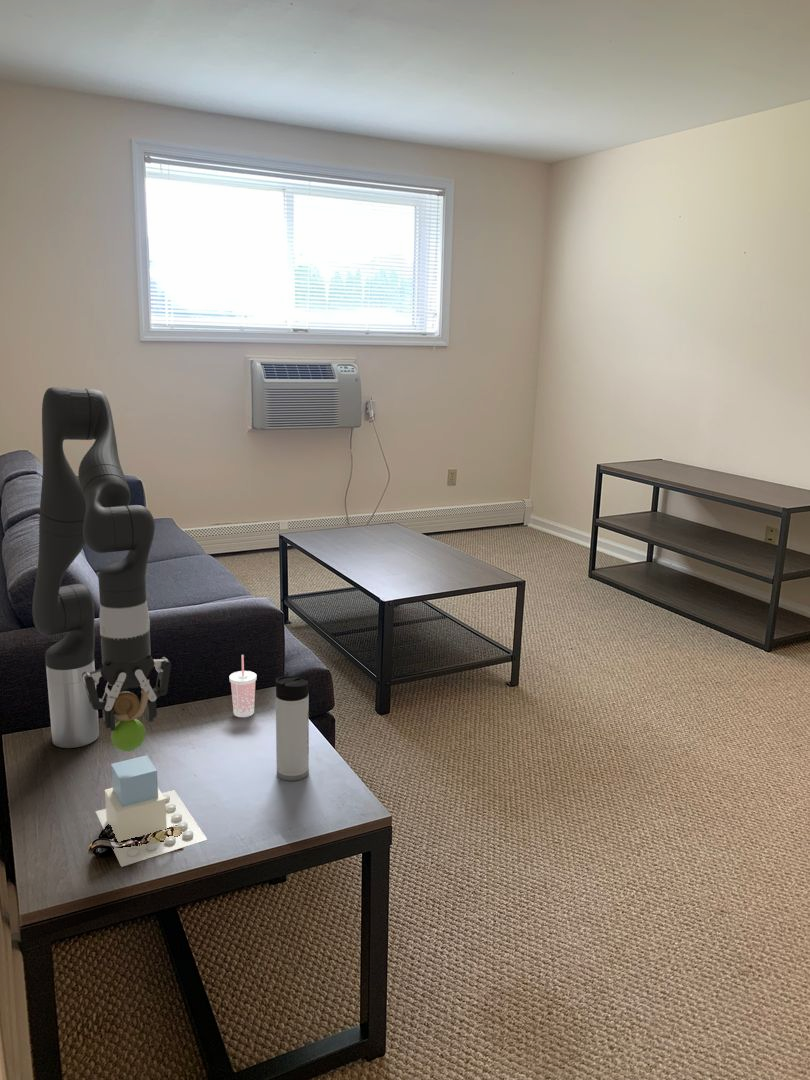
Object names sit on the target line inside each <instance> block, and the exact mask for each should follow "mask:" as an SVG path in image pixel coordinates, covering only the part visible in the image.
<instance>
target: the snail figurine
mask: <svg viewBox="0 0 810 1080" xmlns="http://www.w3.org/2000/svg"><path fill="white" fill-rule="evenodd" d="M147 681H148V682H149V683H150V679H147ZM140 693H141V698H140V699H139V697H138V696H137V695H136V694H135V693H133V692H131V691H127V690H122V691H120V692H119V695H118V697H117V698H116V699H115V702H114V705H113V707H112V708H113V710H114V718H115V721H117V722H116V723H115V730H114V731H110V732H111V733H110V739H111V743H112V744H113V746H114V747H115V748H116V749H117V750H119V751H121V752H133V751H135V750H137V749H138V748H140V747H141V746H142V745H143V743H144V741H145V739H146V736H147V734H146V728H145V725H144V723H142V722H141V721H140V720H139V718H140V717H141V716H142V715H143V714H144V712H145V709H146V706H147V702H148V695H149V691H147V692H145V691H144V690H143V688H141V691H140Z"/></svg>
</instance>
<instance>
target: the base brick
mask: <svg viewBox="0 0 810 1080" xmlns="http://www.w3.org/2000/svg"><path fill="white" fill-rule="evenodd" d="M162 793H163V792H162V791H161V790H160V788H159V787H158V798H154V799H151V800H147V801H143V802H140V803H136V804H132V805H129V806H125V807H121V805H120V803H119V801H118V799H117V798H116V796H115V794H114V792H113V787H110V788H106V789H104V799H105V800H104V802H105V803H104V804H105V809H106V818H107V823H108V824H109V825H111V827H112V830H113V833H114V834H115V837H116V839H117V841H118V842H121V841H123V840H127V839H131V838H135V837H140V836H143V835H147V834H150V833H153V832H156V831H159V830H165V829H167V823H166V803H165V797H164V796H163V794H162Z"/></svg>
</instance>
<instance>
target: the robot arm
mask: <svg viewBox="0 0 810 1080" xmlns="http://www.w3.org/2000/svg"><path fill="white" fill-rule="evenodd" d="M110 405H111V404H110V401H109V400H108V398H107V396H106V394H105V393H104V392H103V391H101V390H98V389H96V388H95V389H94V388H83V387H81V388H80V387H79V388H78V387H66V386H65V387H64V386H63V387H62V386H57V387H55V386H53V387H52V386H51V387H49V388H47V389H46V390H45V392H44V395H43V399H42V404H41V429H42V430H41V433H42V434H41V435H42V438H41V439H42V476H41V477H42V478H41V490H40V502H39V515H38V517H39V519H38V522H39V523H38V556H37V557H38V558H37V559H38V560H37V568H36V574H35V575H36V576H35V582H34V588H33V596H32V606H31V607H32V618H33V619H32V620H33V624H34V627H35V629H36V630H37V632H38V633H40V634H41V635H43V636H53V635H58V634H63V633H66V634H65V636H64V637H63V638H62V639H60V640H58V641H57V642H56V643H54V644H53V645H51V646H50V647H48V649H47V650H46V651H45V655H44V660H45V668H46V669H45V670H46V680H47V690H48V691H47V694H48V705H49V718H50V731H51V741H52V744H53V745H54V746H56V747H59V748H65V749H72V748H79V747H85V746H87V745H90V744H92V743H94V742H95V741H97V739H98V738H99V736H100V729H99V728H100V726H99V711H98V710H102V721H103V724H104V726H105V728H106V729H109V731H110V732H112V731H114V730H115V724H116V723H115V722H116V720H115V718H114V714H115V712H114V710H113V708H112V707H113V705H114V702H115V699H116V698H117V697H118V695H119V693H120V692H123V691H127V690H128V689H130V688H131V689H136V688H141V689H142V688H143V690H144V691H145V692H147V691H149V695H148V702H147V706H146V709H145V711H144V712H145V719H146V721H147V722H148V723H152V722H154V719H155V718H156V717H157V715H158V713H157V699H158V698H159V697H161V696H162V697H163V696H166V695H167V694H168V689H169V683H170V675H171V669H172V663H171V662H170V660H169V659H168V658H167V657H165V656H162V657H160V659H159V658H157V659H155V658H154V659H153V657H152V653H151V648H152V647H151V633H150V631H151V630H150V626H151V620H150V616H149V615H150V614H149V613H150V612H149V609H148V602H147V601H148V600H147V587H146V586H147V585H146V584H147V583H146V573H147V566H148V560H149V556H150V552H151V548H152V545H153V541H154V535H155V529H156V528H155V519H154V516H153V515H152V513H151V511H150V510H149V509H148V507H146V506H143V505H139V504H134V505H133V504H132V505H130V503H131V500H132V498H131V497H132V496H131V490H130V487H129V485H128V483H127V480H126V477H125V474H124V471H123V469H122V465H121V463H120V459H119V451H118V445H117V444H118V443H117V438H116V431H115V425H114V424H115V423H114V419H113V415H112V410H111V406H110ZM64 440H65V441H66V440H69V441H70V440H72V441H73V440H74V441H76V440H77V441H84V440H85V441H92V440H93V441H94V442H93V444H92V445H91V446H90V448H89V449H88V451H87V452H86V453H85V455H84V456H83V457H82V460H81V461H80V464H79V467H78V473H77V474H78V476H77V474H75V471H74V470H73V468H72V467H71V465H70V463H69V461H68V459H67V458H66V457H67V456H66V455H65V452H64V447H63V446H64ZM85 546H87V547H88V548H89V549H91V551H93V552H95V553H99V554H107V553H116V552H125V551H127V552H128V553H127V554H126V556H125V557H124V558H123V559H122V560H119V561H117V562H113V563H111V564H108V565H106V566H104V567H102V568H101V569H100V570H99V572H98V592H99V614H98V615H99V617H98V618H99V634H100V649H101V650H100V651H101V663H100V667H99V669H97V670H96V668H95V647H96V646H95V645H96V639H95V638H96V637H95V606H94V605H95V604H94V598H93V596H92V593H91V591H90V589H89V588H88V586H87V585H85V584H82V583H74V584H68V585H63V586H61V585H62V584H61V583H62V580H63V578H64V576H65V574H66V572H67V570H68V569H69V568H70V566H71V565H72V563H74V561H75V560H76V558H77V557H78V556H79V554H80V553H81V552H82V550H84V547H85ZM154 667H155V668H154ZM153 669H155V670H156V672H157V677H156V684H155V687H153V688H152V686H151V684H150V681H149V682H148V681H147V680H148V679H147V678H148V677H149V676H150V674H151V671H152V670H153ZM101 677H102V678H104V680H105V681H106V682H107V683H106V685H105V688H104V693H103V696H102V698H99V695H98V692H97V685H98V684H99V683H100V678H101Z"/></svg>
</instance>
